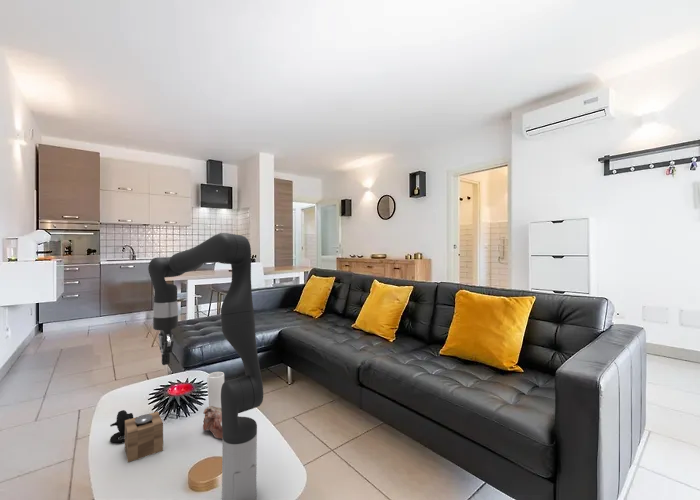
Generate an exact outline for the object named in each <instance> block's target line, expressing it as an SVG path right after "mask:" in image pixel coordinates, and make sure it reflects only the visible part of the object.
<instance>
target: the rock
mask: <svg viewBox="0 0 700 500" xmlns="http://www.w3.org/2000/svg"><path fill="white" fill-rule="evenodd" d="M203 414H204V417H203V424H202V429H203V431H210V432H211V433H212V434H213V436H214V438H216V439H222V440H223V432H222V411H221V408H219V407H214V406H210V407H209V406H207V407H206V408H204V410H203Z"/></svg>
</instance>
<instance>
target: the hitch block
mask: <svg viewBox="0 0 700 500" xmlns="http://www.w3.org/2000/svg"><path fill="white" fill-rule="evenodd" d="M149 414H150V415H152V421H151V422H150V423H149V424H145V425H142V426H139V425H136V424H135V419H136V418H137V417H138V416H136V417H133V418H132V419H128V420H125V436H124V438H125V442H124V451H125V455H126V460H127V463H130V462H133V461H136V460H139V459H143V458H145V457H148V456H151V455H154V454H157V453H160V452H162V451H164V422H163V420H162V417H161V415H160V414H159V411H155V412H151V413H149Z"/></svg>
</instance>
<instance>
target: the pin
mask: <svg viewBox="0 0 700 500" xmlns="http://www.w3.org/2000/svg"><path fill="white" fill-rule="evenodd" d="M136 417H137V418H136ZM136 417H135V418H136V419H135V424H136V425H139V426H142V425H145V424H149V423H150V422H151V421H152V415H150V413H148V414H147V413H146V414H142V415H139V416H136Z"/></svg>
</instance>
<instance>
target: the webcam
mask: <svg viewBox="0 0 700 500" xmlns="http://www.w3.org/2000/svg"><path fill="white" fill-rule="evenodd" d="M132 418H134V414H133V412H130V413H129V412H127V411H126V410H124V409H123V410H119V411H118V412H117V414H116V420H115V422H113V423H110V427H114V426H116V429H117V430H118V432H116V433H113V435H111V436H110V438H109V441H110V443H111V444H113V445H119V444H120V445H121V444H125V420H128V419H132ZM122 437H123V438H122Z"/></svg>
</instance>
